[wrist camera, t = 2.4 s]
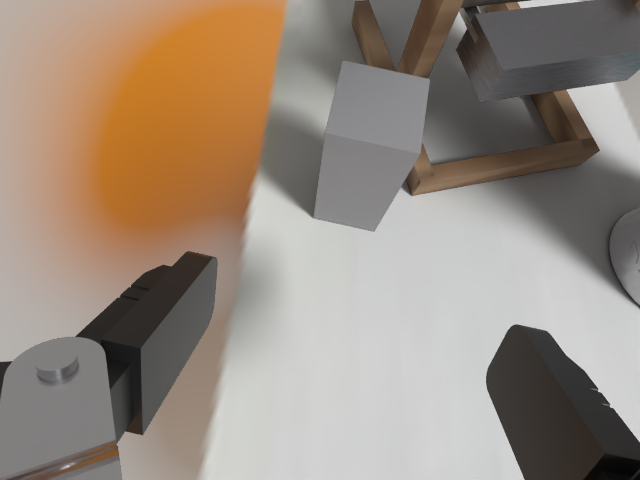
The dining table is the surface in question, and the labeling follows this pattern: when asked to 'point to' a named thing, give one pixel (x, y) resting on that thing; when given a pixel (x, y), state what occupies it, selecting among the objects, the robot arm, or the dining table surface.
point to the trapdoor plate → (549, 47)
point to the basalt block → (369, 143)
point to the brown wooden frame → (418, 61)
